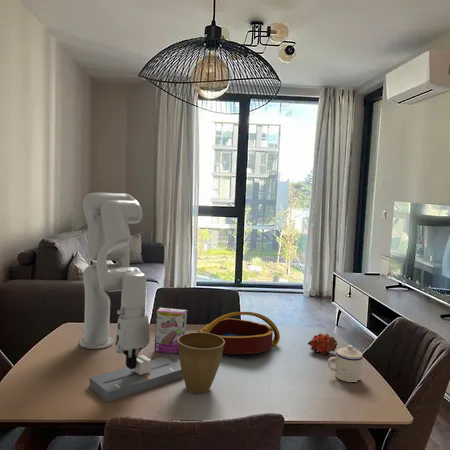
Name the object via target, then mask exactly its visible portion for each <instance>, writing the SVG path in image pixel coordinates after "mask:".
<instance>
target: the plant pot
mask: <svg viewBox="0 0 450 450" xmlns="http://www.w3.org/2000/svg"><path fill="white" fill-rule="evenodd" d="M224 343H225V341H224V339H223V338H221V337H220V336H217V335H214V334H210V333H203V332H198V331H197V332H196V331H195V332H189V333H188V332H186V334H184V335H181V336H180V337H179V338H178V351H179V354H178V359H179V363H180V365H179V366H181V370H182V374H183V378H182V379H183V381H184V385H185V388H186V390H187V391H188V392H190V393H193V394H201V395H202V394H206V393H207V392H208V391H210V390H211V387H212V384H213V383H214V380H215V378H216V376H217V373H218V370H219V367H220V363H221V360H222V357H223V353H222V352H223V348H224Z"/></svg>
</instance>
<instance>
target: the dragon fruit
mask: <svg viewBox="0 0 450 450" xmlns="http://www.w3.org/2000/svg"><path fill="white" fill-rule="evenodd" d="M307 345H308V346H310V350H311V351H312V352H316V351H318V352H319V353H321V355H322V354H323V355H325V354H326V353H329V354H330V352H336V349H337V346H338V342H337V340H336V339H335V337H333V336H330V335H329V334H328V333H325V334H322V333H318V335H314V336H313V338H312V339H311V340H309V342H307ZM318 352H317V353H318Z"/></svg>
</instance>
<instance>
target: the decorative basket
mask: <svg viewBox="0 0 450 450" xmlns="http://www.w3.org/2000/svg"><path fill="white" fill-rule="evenodd" d="M234 316H235V317H236V316H252V317H256V318H258V319H261V320H262V321H263V322H265V324H264V323H260V322H254V321H252V320H246V319H237V318H231V317H234ZM279 331H280V330H279V328H278V327H277V325H276V324H275V323H274V322H273V321H272V319H270V318H269V317H267V316H265V315H263V314H261V313H257V312H253V311H235V312H229V313H226V314H223V315H221V316H219V317H217V318H215V319H214V320H213V321H211V322H210V323H207V324H205V325H204V326H203V327H201V329H198V330H197V332H203V333H210V334H214V335H217V336H220V337H221V338H223V339H224V341H225V343H224V348H223V352H222V354H225V355H226V354H227V355H228V354H230V355H246V354H258V353H263V352H267V351H269V350H271V349H272V348H273V347H275V346H277V345H278V344H279V342H280V339H281V336H280V332H279Z"/></svg>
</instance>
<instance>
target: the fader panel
mask: <svg viewBox="0 0 450 450" xmlns="http://www.w3.org/2000/svg"><path fill="white" fill-rule="evenodd" d="M179 379H184V378H183V374H182V370H181V365H179V364H178V363H176V362H174V361H172V360H170V359H169V358H168V357H165V356H162V357H159V358H156V359H151V372H149V373H145V374H142V375H139V374H138V373H136V372H135V371H133V370H132V369H129V368H128V367H127V366H126V367H123V368H120V369H116V370H112V371H109V372H108V371H107V372H105V373H101V374H97V375H94V376H90V377H89V385H88V386H89V388H90V389H91V390H93V391H94V392H95V393H96V394H98V395H99V396H100V397H101V398H102V399H103V400H104V401H106V403H111V402H113V401H115V400H119V399H122V398H125V397H127V396H128V397H129V396H131V395H134V394H137V393H138V394H139V393H140V392H143V391H146V390H148V389H153V388H155V387H159V386H161V385H165V384H168V383H171V382H174V381H176V380H179Z"/></svg>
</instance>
